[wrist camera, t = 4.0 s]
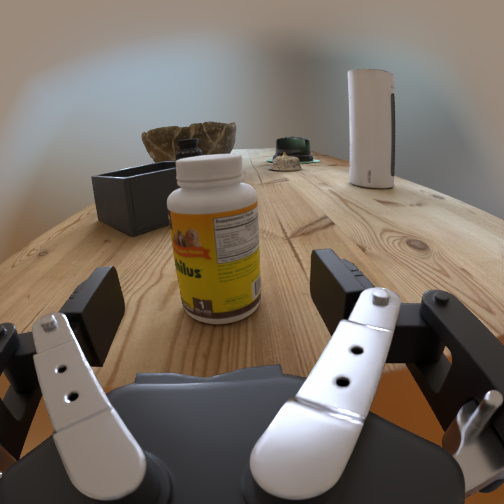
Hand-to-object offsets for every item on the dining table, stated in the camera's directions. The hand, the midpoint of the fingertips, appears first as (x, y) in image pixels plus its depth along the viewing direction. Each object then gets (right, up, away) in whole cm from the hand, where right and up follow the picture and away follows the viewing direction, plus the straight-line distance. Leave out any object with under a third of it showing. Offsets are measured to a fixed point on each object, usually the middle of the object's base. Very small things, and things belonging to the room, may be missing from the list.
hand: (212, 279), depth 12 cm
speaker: (+28, +16, +51) cm, 61 cm away
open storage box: (-14, +7, +34) cm, 38 cm away
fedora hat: (+17, +35, +100) cm, 107 cm away
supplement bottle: (-1, -3, +9) cm, 10 cm away
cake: (+11, +26, +77) cm, 82 cm away
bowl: (-16, +23, +74) cm, 80 cm away
